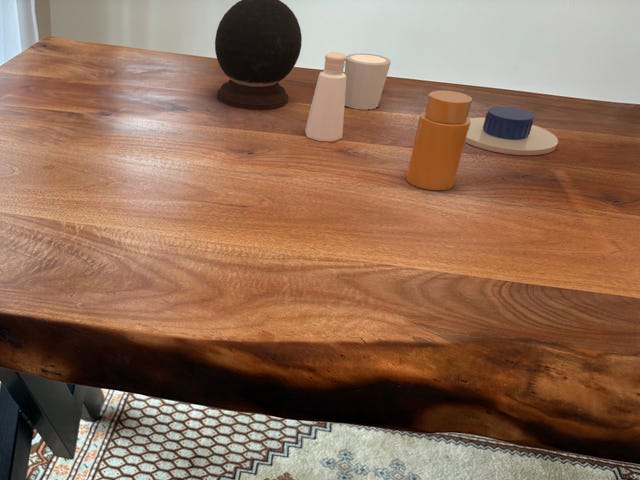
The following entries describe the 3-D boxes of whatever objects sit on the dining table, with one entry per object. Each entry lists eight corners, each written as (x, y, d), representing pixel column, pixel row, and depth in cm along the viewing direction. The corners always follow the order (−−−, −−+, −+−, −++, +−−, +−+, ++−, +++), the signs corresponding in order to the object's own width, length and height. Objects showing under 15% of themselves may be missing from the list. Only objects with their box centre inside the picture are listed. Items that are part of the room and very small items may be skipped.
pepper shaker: (349, 140, 108) (364, 58, 101) (315, 143, 106) (328, 60, 100) (330, 127, 112) (343, 48, 105) (297, 131, 110) (308, 50, 104)
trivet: (543, 127, 116) (544, 121, 115) (568, 159, 104) (570, 154, 104) (447, 119, 117) (448, 113, 117) (462, 150, 106) (463, 144, 105)
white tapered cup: (355, 112, 118) (363, 65, 114) (329, 99, 123) (336, 54, 119) (391, 108, 121) (400, 62, 117) (364, 96, 126) (372, 51, 122)
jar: (449, 175, 98) (472, 91, 92) (456, 192, 93) (480, 105, 87) (403, 170, 99) (422, 87, 93) (408, 188, 94) (428, 101, 88)
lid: (485, 136, 109) (490, 117, 107) (480, 123, 114) (485, 104, 112) (531, 141, 108) (538, 122, 106) (524, 128, 113) (530, 108, 111)
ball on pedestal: (287, 88, 128) (299, -11, 119) (300, 113, 117) (314, 6, 108) (208, 85, 127) (215, -14, 119) (213, 110, 117) (221, 3, 108)
